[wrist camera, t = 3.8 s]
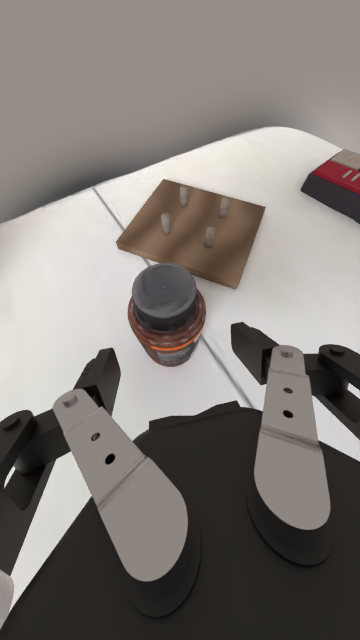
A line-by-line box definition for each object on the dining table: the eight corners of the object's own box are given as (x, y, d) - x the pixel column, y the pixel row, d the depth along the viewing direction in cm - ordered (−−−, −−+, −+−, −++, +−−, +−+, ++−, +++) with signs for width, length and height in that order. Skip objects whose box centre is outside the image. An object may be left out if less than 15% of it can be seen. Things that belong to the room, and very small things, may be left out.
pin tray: (118, 248, 27) (109, 226, 23) (163, 186, 33) (162, 161, 29) (235, 289, 24) (245, 271, 21) (262, 214, 30) (273, 190, 27)
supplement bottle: (206, 347, 21) (235, 298, 11) (163, 379, 20) (148, 357, 9) (177, 310, 23) (176, 237, 13) (136, 335, 22) (97, 278, 11)
